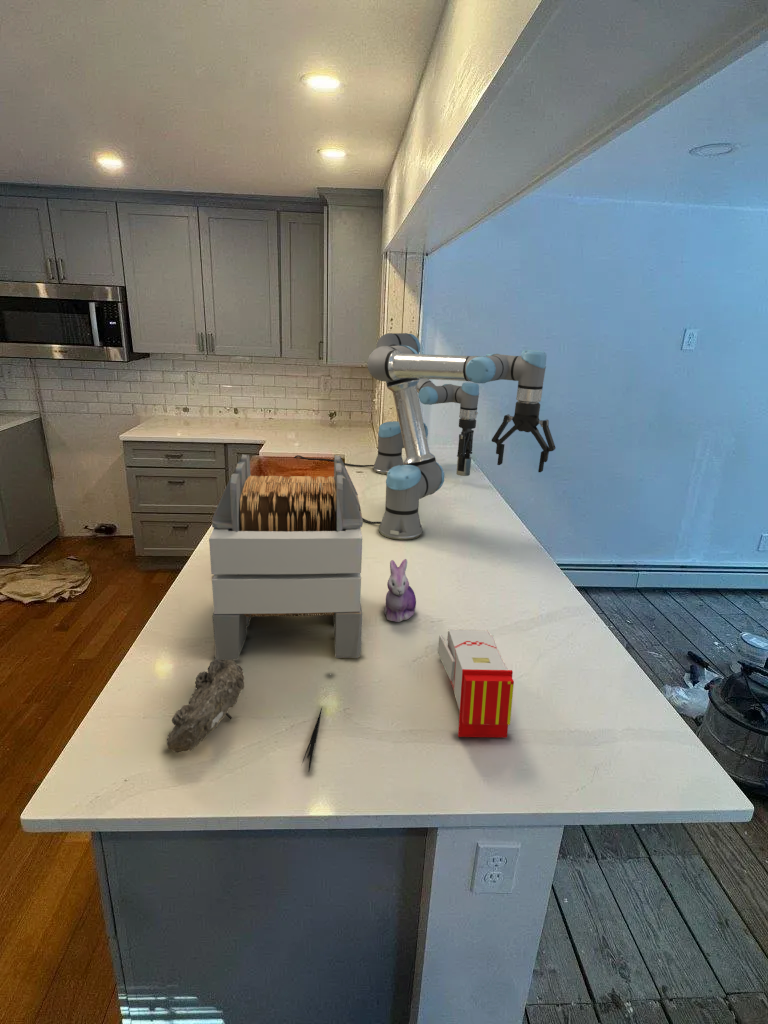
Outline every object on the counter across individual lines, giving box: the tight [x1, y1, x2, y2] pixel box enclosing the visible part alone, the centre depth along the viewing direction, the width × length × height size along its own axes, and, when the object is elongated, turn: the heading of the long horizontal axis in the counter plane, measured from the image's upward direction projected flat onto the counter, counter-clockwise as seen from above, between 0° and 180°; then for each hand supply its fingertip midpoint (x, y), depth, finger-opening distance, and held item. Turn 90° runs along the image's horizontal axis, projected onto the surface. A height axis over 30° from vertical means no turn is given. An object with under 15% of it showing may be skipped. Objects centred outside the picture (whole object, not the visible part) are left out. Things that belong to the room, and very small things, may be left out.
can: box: [456, 456, 472, 477], centre depth 257 cm, size 6×6×8 cm
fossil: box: [166, 659, 245, 754], centre depth 106 cm, size 22×10×15 cm
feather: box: [301, 673, 332, 771], centre depth 108 cm, size 2×28×2 cm
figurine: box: [384, 558, 417, 623], centre depth 145 cm, size 9×10×15 cm
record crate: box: [208, 453, 364, 661], centre depth 135 cm, size 34×33×41 cm
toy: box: [437, 628, 515, 738], centre depth 117 cm, size 12×13×30 cm
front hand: (519, 467), depth 184 cm, fingers open, 13 cm apart
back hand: (463, 469), depth 257 cm, fingers closed on can, 6 cm apart
